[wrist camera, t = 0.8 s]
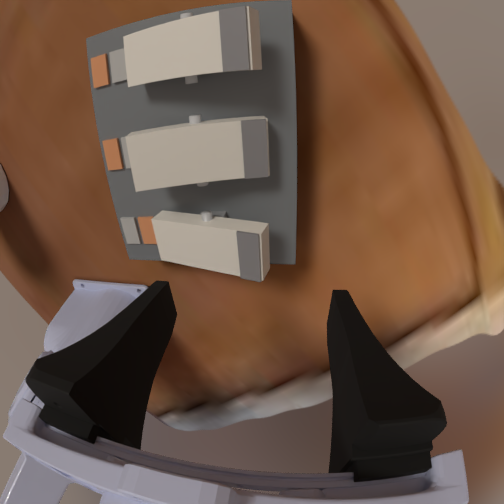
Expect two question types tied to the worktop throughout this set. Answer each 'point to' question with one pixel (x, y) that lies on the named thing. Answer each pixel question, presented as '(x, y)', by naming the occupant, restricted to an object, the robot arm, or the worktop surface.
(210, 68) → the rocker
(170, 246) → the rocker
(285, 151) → the switch box
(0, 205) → the white cup
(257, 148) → the middle rocker
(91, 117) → the worktop surface
